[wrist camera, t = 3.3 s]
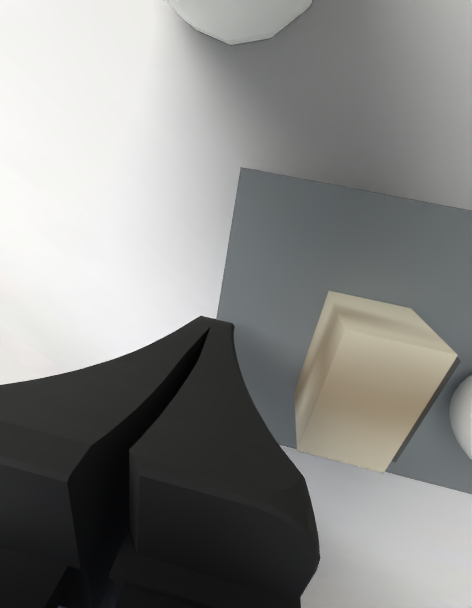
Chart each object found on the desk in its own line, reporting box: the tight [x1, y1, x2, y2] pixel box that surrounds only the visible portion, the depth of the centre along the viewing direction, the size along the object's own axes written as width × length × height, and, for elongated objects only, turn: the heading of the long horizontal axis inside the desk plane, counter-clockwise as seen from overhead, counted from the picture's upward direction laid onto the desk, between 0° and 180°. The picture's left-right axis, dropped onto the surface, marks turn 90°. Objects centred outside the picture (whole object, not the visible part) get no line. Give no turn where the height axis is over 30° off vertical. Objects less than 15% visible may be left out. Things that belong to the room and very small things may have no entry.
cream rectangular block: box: [294, 291, 461, 473], centre depth 10 cm, size 5×3×3 cm
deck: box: [216, 167, 472, 494], centre depth 12 cm, size 12×21×2 cm, turn 80°
